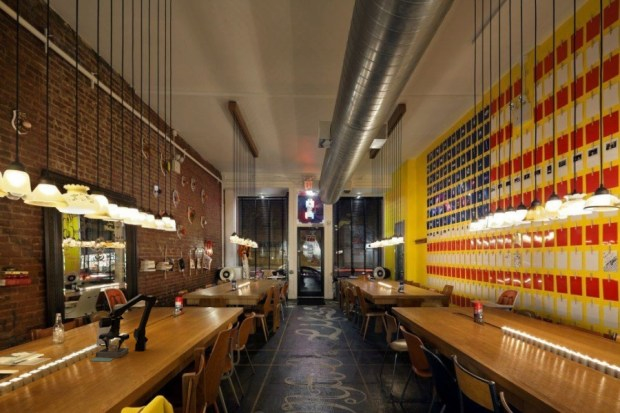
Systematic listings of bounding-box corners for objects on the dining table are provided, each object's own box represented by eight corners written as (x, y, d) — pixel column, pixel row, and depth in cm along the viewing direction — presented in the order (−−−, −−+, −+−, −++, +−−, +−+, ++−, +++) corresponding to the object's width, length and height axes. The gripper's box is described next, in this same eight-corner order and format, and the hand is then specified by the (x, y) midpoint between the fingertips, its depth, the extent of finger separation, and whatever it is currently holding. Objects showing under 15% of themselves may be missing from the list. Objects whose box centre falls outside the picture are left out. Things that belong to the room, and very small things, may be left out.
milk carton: (110, 343, 296) (113, 318, 298) (104, 345, 288) (107, 319, 291) (101, 343, 296) (104, 317, 298) (96, 345, 289) (98, 319, 291)
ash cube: (117, 349, 270) (117, 343, 270) (114, 351, 266) (115, 345, 266) (111, 349, 270) (111, 343, 270) (108, 350, 266) (109, 344, 266)
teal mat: (113, 358, 258) (113, 358, 258) (108, 361, 251) (109, 361, 252) (95, 358, 258) (95, 357, 258) (90, 361, 251) (90, 360, 251)
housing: (128, 352, 275) (128, 348, 275) (119, 357, 261) (120, 353, 261) (105, 351, 274) (105, 347, 274) (95, 357, 260) (96, 352, 261)
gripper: (96, 328, 261) (93, 351, 259) (124, 329, 262) (121, 352, 261) (103, 324, 272) (101, 347, 271) (130, 326, 273) (128, 348, 272)
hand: (112, 349), depth 268 cm, fingers open, 7 cm apart
